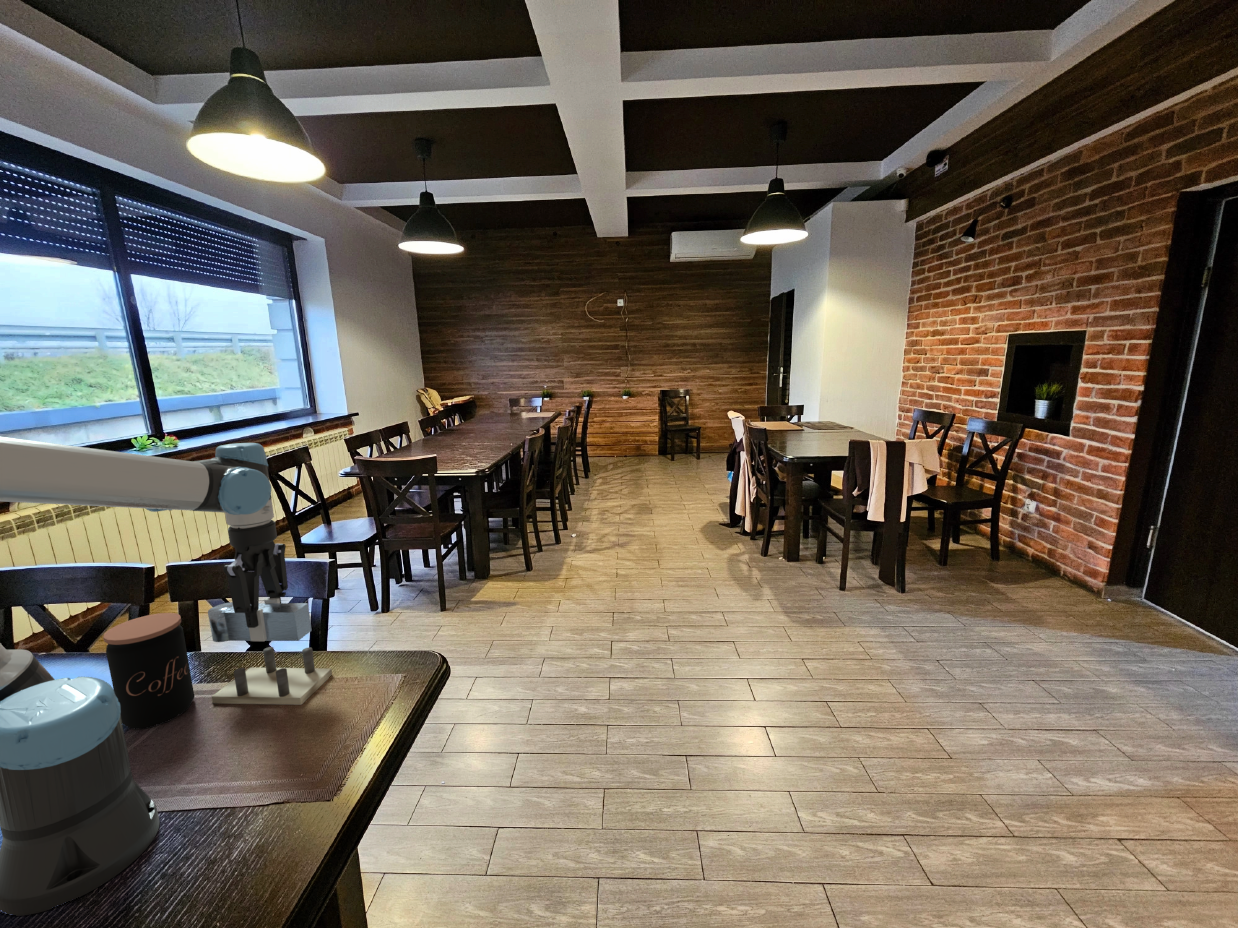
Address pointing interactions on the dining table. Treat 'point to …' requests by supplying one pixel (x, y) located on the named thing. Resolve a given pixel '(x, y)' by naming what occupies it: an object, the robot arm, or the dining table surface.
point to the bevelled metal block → (278, 620)
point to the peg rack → (274, 682)
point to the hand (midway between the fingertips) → (267, 633)
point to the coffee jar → (149, 669)
